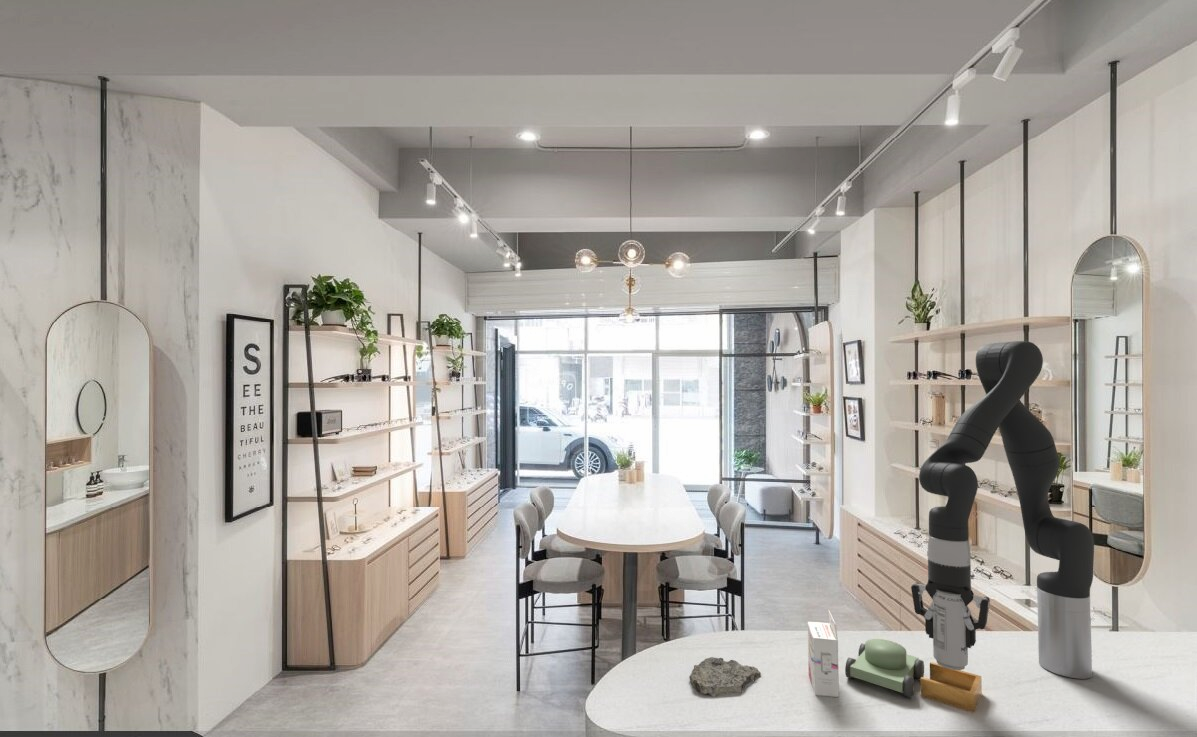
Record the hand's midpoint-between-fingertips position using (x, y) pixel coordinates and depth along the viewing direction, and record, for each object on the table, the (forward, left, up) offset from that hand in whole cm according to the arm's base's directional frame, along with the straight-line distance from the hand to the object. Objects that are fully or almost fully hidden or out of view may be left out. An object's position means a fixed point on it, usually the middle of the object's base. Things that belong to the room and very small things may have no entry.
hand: (950, 641), depth 116 cm
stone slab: (+26, -38, -11) cm, 47 cm away
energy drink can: (0, 0, -5) cm, 5 cm away
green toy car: (+2, -12, -11) cm, 16 cm away
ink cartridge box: (+14, -21, -11) cm, 27 cm away
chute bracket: (0, 0, -11) cm, 11 cm away
